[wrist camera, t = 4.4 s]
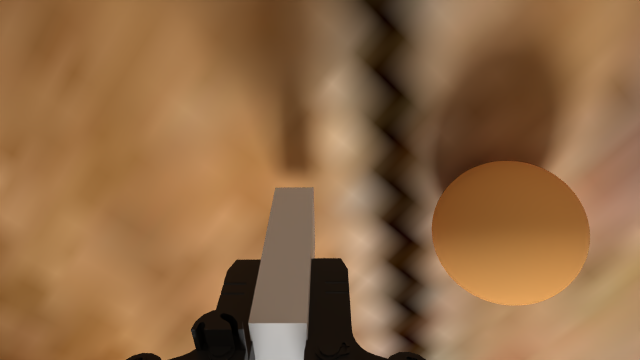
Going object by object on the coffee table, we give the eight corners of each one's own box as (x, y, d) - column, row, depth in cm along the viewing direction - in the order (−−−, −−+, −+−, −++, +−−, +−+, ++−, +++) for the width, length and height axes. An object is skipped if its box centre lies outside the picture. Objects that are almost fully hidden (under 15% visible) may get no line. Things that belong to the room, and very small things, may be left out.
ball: (412, 241, 20) (440, 337, 15) (428, 136, 17) (468, 214, 12) (527, 242, 20) (592, 339, 15) (562, 137, 17) (655, 215, 12)
